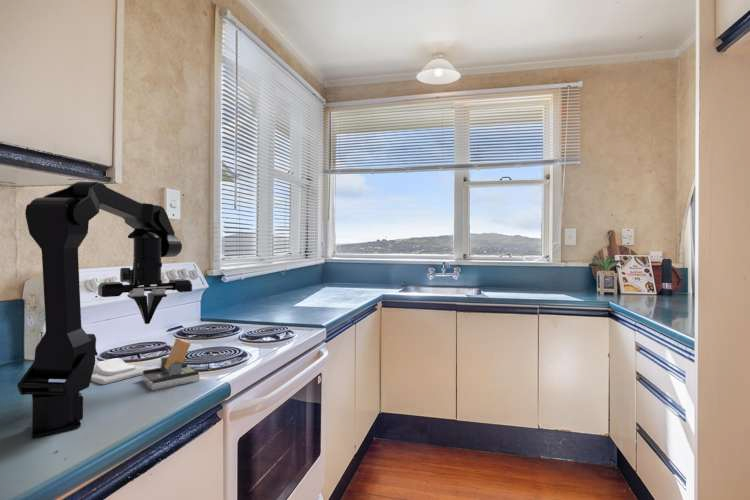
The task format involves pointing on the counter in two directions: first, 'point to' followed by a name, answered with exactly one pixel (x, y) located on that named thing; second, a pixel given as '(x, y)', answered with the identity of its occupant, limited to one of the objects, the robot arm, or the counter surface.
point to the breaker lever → (177, 352)
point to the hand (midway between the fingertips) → (147, 323)
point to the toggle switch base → (169, 375)
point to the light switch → (115, 371)
